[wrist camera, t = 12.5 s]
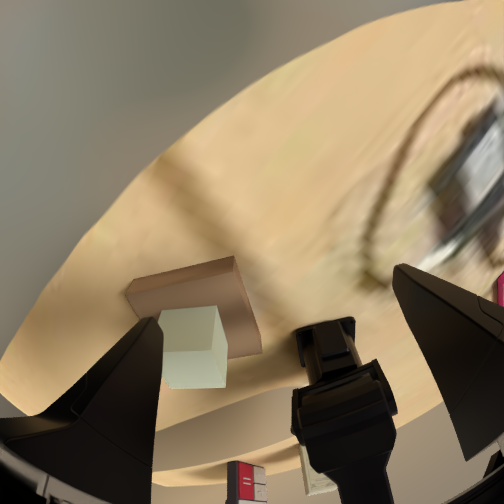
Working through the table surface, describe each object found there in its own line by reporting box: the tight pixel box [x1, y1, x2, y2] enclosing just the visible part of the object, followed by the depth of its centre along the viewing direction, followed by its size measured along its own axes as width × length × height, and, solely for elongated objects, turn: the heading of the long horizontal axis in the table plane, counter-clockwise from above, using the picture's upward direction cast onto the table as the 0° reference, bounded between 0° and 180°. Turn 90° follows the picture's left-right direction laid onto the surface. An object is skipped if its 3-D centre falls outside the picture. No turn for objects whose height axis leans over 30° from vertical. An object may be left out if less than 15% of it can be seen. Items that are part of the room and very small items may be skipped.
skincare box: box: [299, 445, 338, 496], centre depth 40 cm, size 6×4×12 cm
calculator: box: [225, 461, 267, 504], centre depth 45 cm, size 11×4×15 cm, turn 39°
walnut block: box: [125, 256, 262, 359], centre depth 25 cm, size 10×10×3 cm
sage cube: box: [158, 305, 228, 389], centre depth 22 cm, size 5×5×5 cm
